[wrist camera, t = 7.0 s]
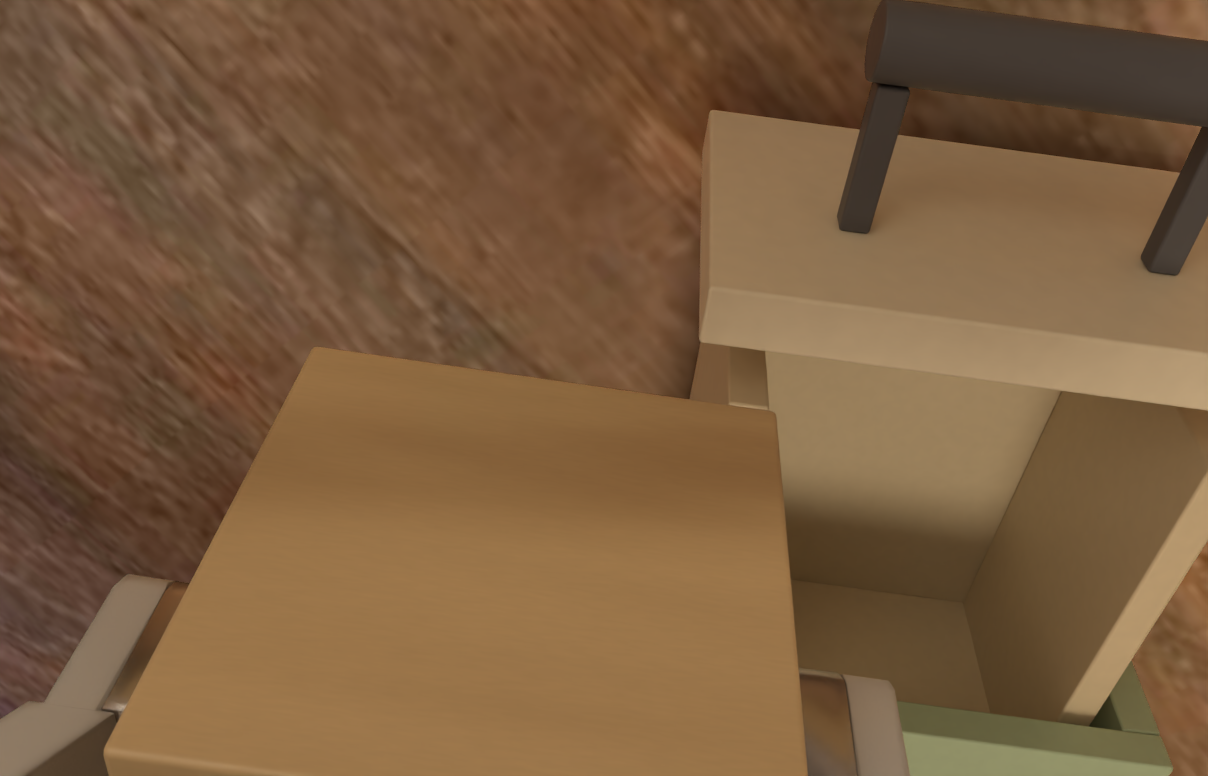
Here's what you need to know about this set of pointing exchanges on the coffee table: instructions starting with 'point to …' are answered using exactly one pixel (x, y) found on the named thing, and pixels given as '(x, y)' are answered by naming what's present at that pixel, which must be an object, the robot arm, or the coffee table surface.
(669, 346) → the coffee table surface
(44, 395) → the coffee table surface
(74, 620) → the coffee table surface
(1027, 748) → the cabinet
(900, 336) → the drawer
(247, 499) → the block
